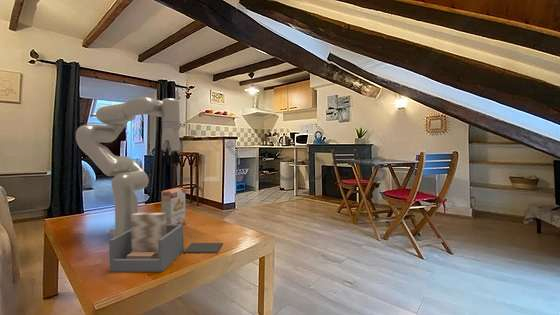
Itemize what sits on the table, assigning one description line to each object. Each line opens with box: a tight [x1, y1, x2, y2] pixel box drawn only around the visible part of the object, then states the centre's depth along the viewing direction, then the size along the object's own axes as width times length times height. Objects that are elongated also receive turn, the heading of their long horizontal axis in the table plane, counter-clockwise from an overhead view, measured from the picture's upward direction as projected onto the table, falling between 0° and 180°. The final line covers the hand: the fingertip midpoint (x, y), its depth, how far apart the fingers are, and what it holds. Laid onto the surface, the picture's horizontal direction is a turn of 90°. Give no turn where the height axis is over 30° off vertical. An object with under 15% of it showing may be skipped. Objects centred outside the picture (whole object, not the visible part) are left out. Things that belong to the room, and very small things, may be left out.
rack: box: [108, 225, 185, 273], centre depth 100 cm, size 18×19×11 cm
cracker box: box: [160, 187, 186, 226], centre depth 143 cm, size 14×6×21 cm, turn 168°
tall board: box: [131, 212, 167, 258], centre depth 100 cm, size 12×3×18 cm, turn 89°
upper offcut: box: [126, 252, 156, 259], centre depth 95 cm, size 9×4×2 cm, turn 87°
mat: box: [182, 242, 224, 254], centre depth 111 cm, size 14×10×1 cm
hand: (172, 163), depth 120 cm, fingers open, 9 cm apart
